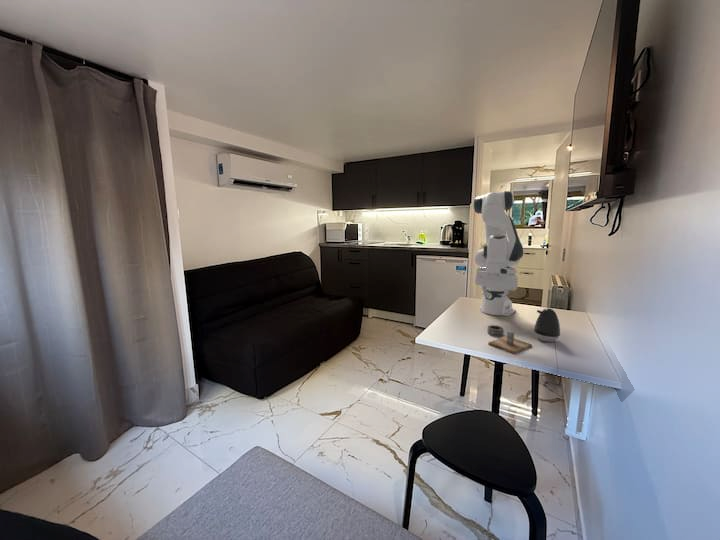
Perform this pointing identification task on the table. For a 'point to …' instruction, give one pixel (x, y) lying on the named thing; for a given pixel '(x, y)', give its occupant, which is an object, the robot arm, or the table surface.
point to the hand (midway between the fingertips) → (494, 296)
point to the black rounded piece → (547, 326)
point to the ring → (495, 330)
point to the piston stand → (510, 343)
